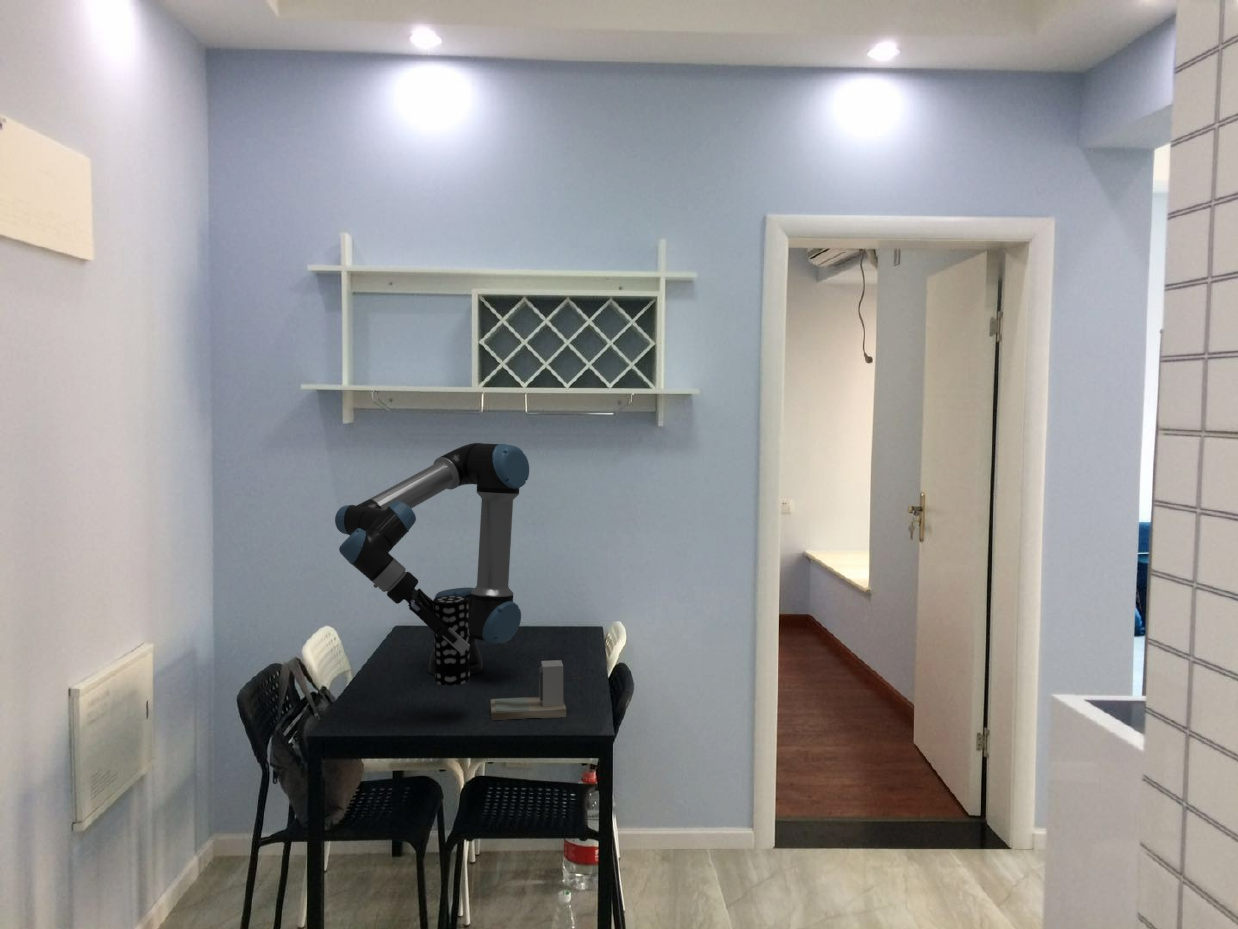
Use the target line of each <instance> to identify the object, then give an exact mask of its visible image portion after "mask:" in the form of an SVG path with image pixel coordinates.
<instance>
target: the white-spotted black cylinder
mask: <svg viewBox="0 0 1238 929" xmlns="http://www.w3.org/2000/svg"><path fill="white" fill-rule="evenodd" d="M432 600H433V611H434V613H435V614H436V615H437V616H438V617H439V618H440V619H441V620H442V621H443V622H444V623H445V625H446V626H448V628H449V627H450V628H451V629H452V630H454V631H455V632H456V633H457V634H458V635H459V636H460V637H461V638H462V639H464V640H465V641H466V642H467V643H468V644H469V612H468V597H465V596H460V595H448V596H441V597H437V598H435V597H434V598H433V599H432ZM433 642H434V643H433V648H434V652H435V675H434V681H435V683H436V684H437V685H440V686H445V687H447V686H450V687H451V686H459V685H460V686H461V685H464V684H466V683H468V682H469V681H471V675H470V660H469V647H468V648H467V649H466V650H465V652H464V653H463V654H461V653H460V652H459V651H458V650H457V649H455V648H454V647H453V646H452V645H451V644H450V643H449V642H448V641H446V640H445V639H444V638H443V637H441V638H440V639H439V638H438V637H437V634H436V633H435V632H434V631H433Z"/></svg>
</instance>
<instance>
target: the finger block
mask: <svg viewBox="0 0 1238 929" xmlns="http://www.w3.org/2000/svg"><path fill="white" fill-rule="evenodd" d="M540 665H541V666H540V667H538V697H540V701H542V705H543V707H551V706H563V700H564V664H563V662H562V660H561V659H559V660H541V661H540Z"/></svg>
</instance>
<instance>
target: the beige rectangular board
mask: <svg viewBox="0 0 1238 929" xmlns="http://www.w3.org/2000/svg"><path fill="white" fill-rule="evenodd" d="M490 717H491V718H492V719H491V721H492V720H503V721H508V720H507V719H523V720H525V719H524V718H542V719H556V718H557V719H559V718H561V717H562V718H567V706H566V704H565V701H564V699H563V706H551V707H543V705H542V701H540V697H539V696H532V697H526V696H525V697H509V698H508V697H505V698H492V699H490ZM562 718H561V719H562Z"/></svg>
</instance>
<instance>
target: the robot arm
mask: <svg viewBox="0 0 1238 929" xmlns="http://www.w3.org/2000/svg"><path fill="white" fill-rule="evenodd" d="M529 476H530V463H529V460H528V457H527V455H526V454H525V453H524V451H523V450H522V449H521V448H519V447H518V446H517V445H512V444H506V443H483V442H473V443H469V444H468V443H467V444H465V445H462V446H460V447H457V448H455V449H453V450H450V451H449V452H447V453H445V454H443V455H440V457H437V458H436V459H435V460H434V462H433V464H432V465H430V466H428V467H427V468H425V469H423V470H421V471H418V472H417V473H415V474H413V475H411V476H410V477H407V478H406V479H404V480H402V481H400V482H398V483H396V484H394V485H393V486H391V487H389V488H387V489H386V490H383V491H381V492H379V493H377V494H376V495H374V496H372V497H370V498H369V499H367V500H365V501H362V502H360V503H358V504H357V505H354V504H347V505H343V506H342V507H340V508H339V509H338V510H337V512H336V514H335V516H334V524H335V527H336V529H337V530H338V532H340V533H341V534H344V535H347V536H348V537H347V538H346V539H345V540H344V541H343V542H342V543H341V544H340V546H339V548H338V551H339V552H340V554H341V555H342V557H343V558H344V559H345V560H346V561H347V562H348V563H349V564H350V565H352V566H353V567H354V568H355V569H357V570H358V571H359V572H360V573H361V574H362V575H363V576H365V577H366V578H367V579H368V580H369V581H370V582H372V583H373V588H374V589H375V588H377V589H379V590H381V591H382V592H383V593H386V596H387V597H388V598H389V599H390V600H392V602H394V603H395V604H400V603H401V602H403V601H406V603H408V605H407V606H408V609H409V611H411V612H412V613H413V614H415V615H416V616H417V617H418V618H419V619H420V620H421V621H423V623H424V624H426V626H427V627H428V628H430V630H432V632H433V633H434V632H435V633H436V634H437V637H438V638H439V639H440V638H441V637H443V638H444V639H445V640H446V641H448V642H449V643H450V644H451V645H452V646H453V647H454V648H455V649H457V650H458V651H459V652H460V653H461V654H463V653H464V652H465V650H466V649H467V648H468V647H469V660H470V676H473V675H475V674H478V673H480V672H481V671H482V670H484V669H483V664H484V660H483V658H482V655H481V653H480V648H479V646H478V642H477V640H478V641H479V640H480V641H484V642H486V643H489V644H493V643H494V644H504V643H507V642H508V641H510V640H511V639H512V638H513V637H514V636H515V634H516V633H517V631H518V630H519V627H520V625H521V621H522V611H521V608H520V607H519V605H518V604H517V603H515V601H514V592H513V591H512V590H511V589H510V586H509V584H510V583H509V582H510V577H509V576H510V566H511V565H510V563H511V543H512V527H513V512H514V511H513V508H514V499H516V498H517V497H518V496H519V495H520V488H521V487H524V485H526V483H527V482H526V481H528V479H529ZM464 485H465V486H466V485H476V494H477V495H478V496H479V497H480V499H481V503H480V505H481V506H480V508H481V509H480V522H479V523H480V524H479V525H480V526H479V541H478V557H477V558H478V560H477V579H476V586H475V587H456V588H450V589H443V590H440V591H438V592H437V593H436V594H435V595H434V599H435V598H437V597H441V596H448V595H460V596H465V597H468V612H469V644H468V643H467V642H466V641H465V640H464V639H462V638H461V637H460V636H459V635H458V634H457V633H456V632H455V631H454V630H452V629H451V628H450V627H449V628H448V626H446V625H445V623H444V622H443V621H442V620H441V619H440V618H439V617H438V616H437V615H436V614H435V613H434V611H433V599H432V598H431V597H429V596H428V595H427V594H426V593H425V592H424V591H423V590H422V589H421V588H417V589H416V587H417V586H418V584H419V579H418V578H417V577H416V576H414V575H413V573H411V572H410V571H406V569H407V568H406V567H405V566H404V565H403V564H401V562H399V561H398V560H397V559H396V558H395V557H394V556H392V555H391V554H390V552H391V551H392V550H393V548H395V546H396V545H397V544H398V543H399V542H400V541H401V540H402V539H403V538H404V537H405V536H406V535H407V533H409V532H410V530H411V528H412V527H413V526H414V524H415V523H416V521H417V516H416V513H415V512H414V510H413V508H415V507H417V506H419V505H421V504H422V503H424V502H426V501H427V500H430V499H431V498H432V497H434V496H437V495H438V494H440V493H442V492H444V491H445V490H451V491H452V490H454V489H456V488H458V487H460V486H464ZM429 657H430V658H429V661H428V672H429V673H430V674H431V675H434V676H435V652H434V647H433V648H432V651H431V654H430V656H429Z"/></svg>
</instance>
